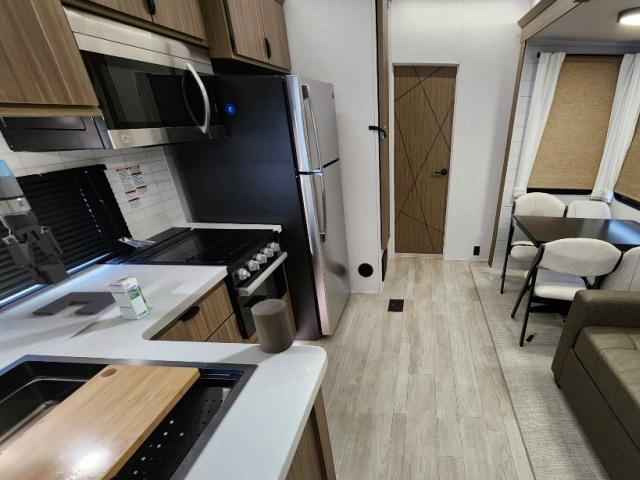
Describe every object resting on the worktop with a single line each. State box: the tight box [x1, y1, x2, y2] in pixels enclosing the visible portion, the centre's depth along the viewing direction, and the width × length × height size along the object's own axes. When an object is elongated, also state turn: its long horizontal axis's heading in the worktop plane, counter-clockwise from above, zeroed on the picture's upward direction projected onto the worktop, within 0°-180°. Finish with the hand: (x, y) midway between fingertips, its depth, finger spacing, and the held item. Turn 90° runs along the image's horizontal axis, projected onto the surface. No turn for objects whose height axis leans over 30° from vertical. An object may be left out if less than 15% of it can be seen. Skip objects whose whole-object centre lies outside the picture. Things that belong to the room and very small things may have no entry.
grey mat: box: [32, 291, 116, 316], centre depth 126 cm, size 22×16×2 cm
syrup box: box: [106, 275, 151, 320], centre depth 117 cm, size 6×6×14 cm
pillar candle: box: [250, 298, 294, 354], centre depth 100 cm, size 10×10×15 cm
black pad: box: [32, 263, 71, 286], centre depth 112 cm, size 6×6×5 cm
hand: (53, 280), depth 113 cm, fingers closed on black pad, 6 cm apart
